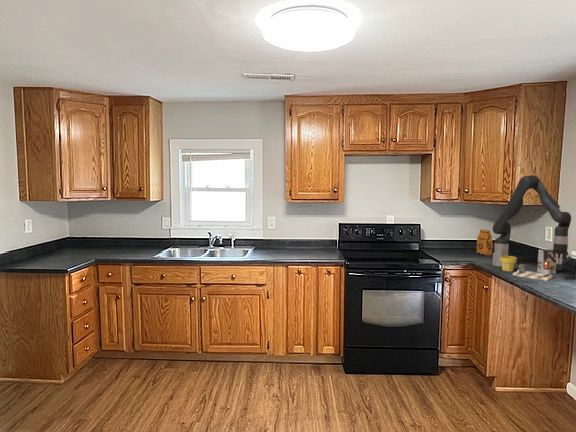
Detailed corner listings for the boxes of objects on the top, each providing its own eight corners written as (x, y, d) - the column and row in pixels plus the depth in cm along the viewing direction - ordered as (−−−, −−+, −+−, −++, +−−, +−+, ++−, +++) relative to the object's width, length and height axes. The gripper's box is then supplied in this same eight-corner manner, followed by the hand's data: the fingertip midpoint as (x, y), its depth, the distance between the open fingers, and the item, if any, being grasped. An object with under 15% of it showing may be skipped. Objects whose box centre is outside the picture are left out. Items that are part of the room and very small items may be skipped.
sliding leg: (539, 276, 252) (540, 262, 252) (543, 274, 257) (544, 261, 257) (546, 277, 250) (547, 263, 249) (549, 275, 255) (550, 261, 254)
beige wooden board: (512, 275, 262) (513, 265, 262) (519, 272, 270) (519, 263, 270) (547, 280, 247) (547, 270, 247) (552, 278, 255) (553, 268, 255)
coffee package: (484, 255, 337) (485, 230, 336) (474, 253, 349) (475, 229, 348) (494, 255, 339) (495, 230, 337) (484, 253, 351) (485, 228, 350)
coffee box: (543, 273, 268) (544, 250, 267) (536, 271, 275) (538, 249, 274) (556, 273, 269) (557, 250, 267) (549, 271, 275) (550, 249, 274)
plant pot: (516, 272, 270) (517, 258, 270) (499, 271, 275) (500, 257, 275) (515, 270, 279) (516, 256, 279) (499, 268, 284) (500, 255, 284)
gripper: (546, 242, 251) (545, 268, 252) (571, 244, 241) (569, 272, 242) (550, 241, 255) (548, 267, 257) (574, 243, 246) (573, 270, 247)
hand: (559, 269), depth 249 cm, fingers closed
